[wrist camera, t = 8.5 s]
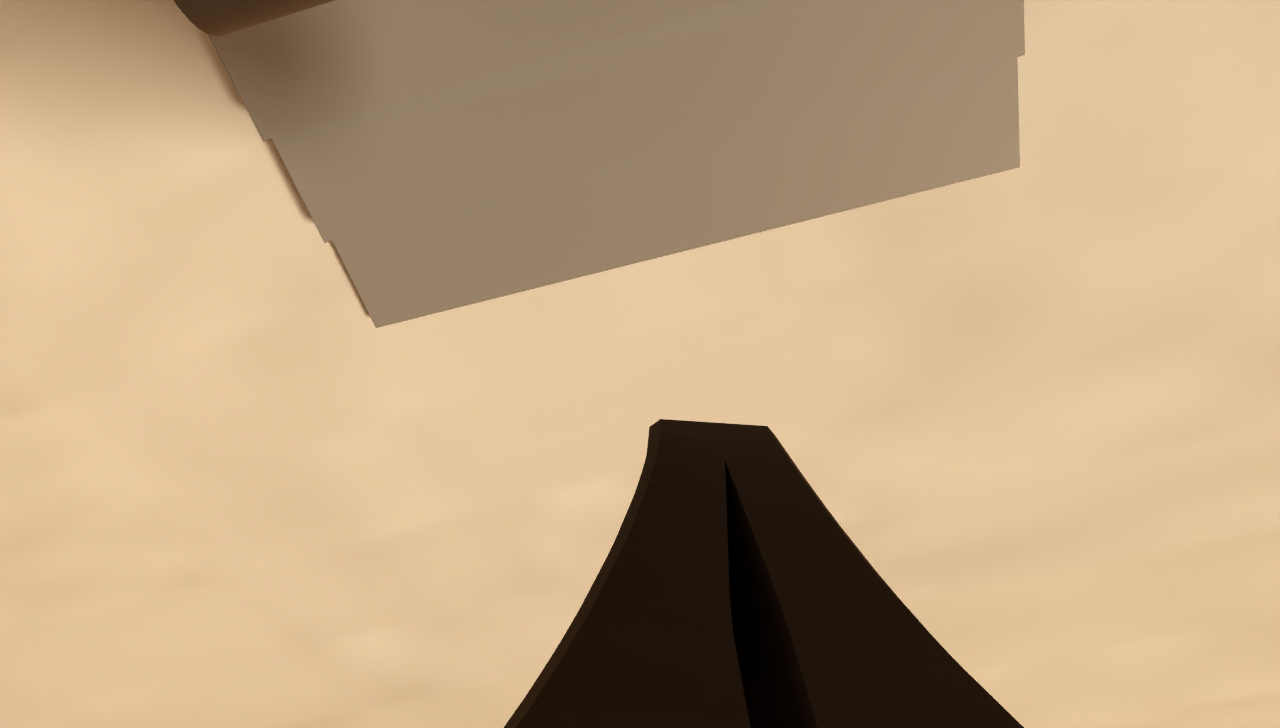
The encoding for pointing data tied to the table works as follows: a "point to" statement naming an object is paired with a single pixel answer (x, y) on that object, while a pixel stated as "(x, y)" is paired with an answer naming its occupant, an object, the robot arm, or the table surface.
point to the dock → (612, 126)
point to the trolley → (239, 12)
